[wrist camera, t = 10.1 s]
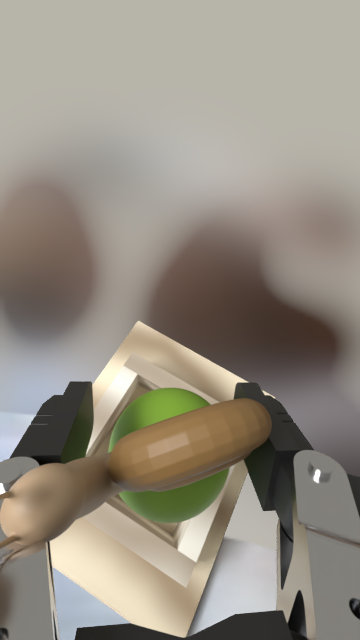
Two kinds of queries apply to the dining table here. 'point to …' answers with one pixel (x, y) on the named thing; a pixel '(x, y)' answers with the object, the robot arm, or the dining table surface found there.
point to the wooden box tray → (129, 527)
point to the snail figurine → (141, 465)
